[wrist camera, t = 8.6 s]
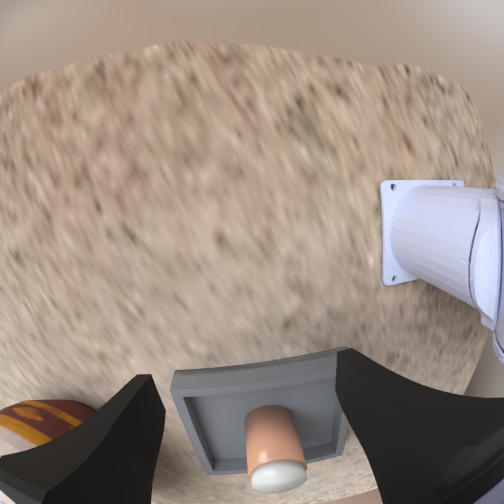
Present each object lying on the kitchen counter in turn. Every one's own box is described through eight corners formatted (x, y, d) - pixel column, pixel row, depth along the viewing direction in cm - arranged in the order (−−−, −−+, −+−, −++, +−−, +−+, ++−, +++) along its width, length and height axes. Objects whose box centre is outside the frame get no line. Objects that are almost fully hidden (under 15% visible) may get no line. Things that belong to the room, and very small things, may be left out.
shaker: (282, 398, 21) (298, 461, 14) (299, 425, 22) (316, 482, 15) (235, 414, 21) (238, 478, 14) (256, 440, 22) (263, 497, 15)
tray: (345, 346, 21) (356, 362, 18) (335, 439, 24) (342, 454, 21) (174, 370, 20) (169, 389, 18) (207, 457, 23) (207, 474, 21)
